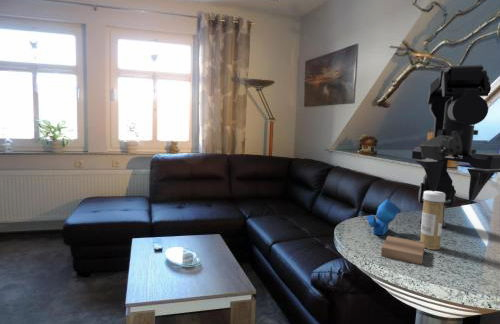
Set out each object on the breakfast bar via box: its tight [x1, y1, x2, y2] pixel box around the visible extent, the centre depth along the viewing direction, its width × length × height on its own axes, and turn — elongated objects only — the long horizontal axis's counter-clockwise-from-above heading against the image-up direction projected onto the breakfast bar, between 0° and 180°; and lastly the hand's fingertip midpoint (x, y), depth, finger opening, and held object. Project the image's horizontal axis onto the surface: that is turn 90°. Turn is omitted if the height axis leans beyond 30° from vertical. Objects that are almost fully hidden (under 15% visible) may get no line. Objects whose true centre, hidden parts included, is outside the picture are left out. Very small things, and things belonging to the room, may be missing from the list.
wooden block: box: [380, 235, 425, 265], centre depth 74 cm, size 9×8×2 cm
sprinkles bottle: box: [419, 191, 445, 251], centre depth 78 cm, size 5×5×13 cm
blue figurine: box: [365, 198, 401, 237], centre depth 89 cm, size 7×9×12 cm
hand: (451, 195), depth 73 cm, fingers open, 9 cm apart
